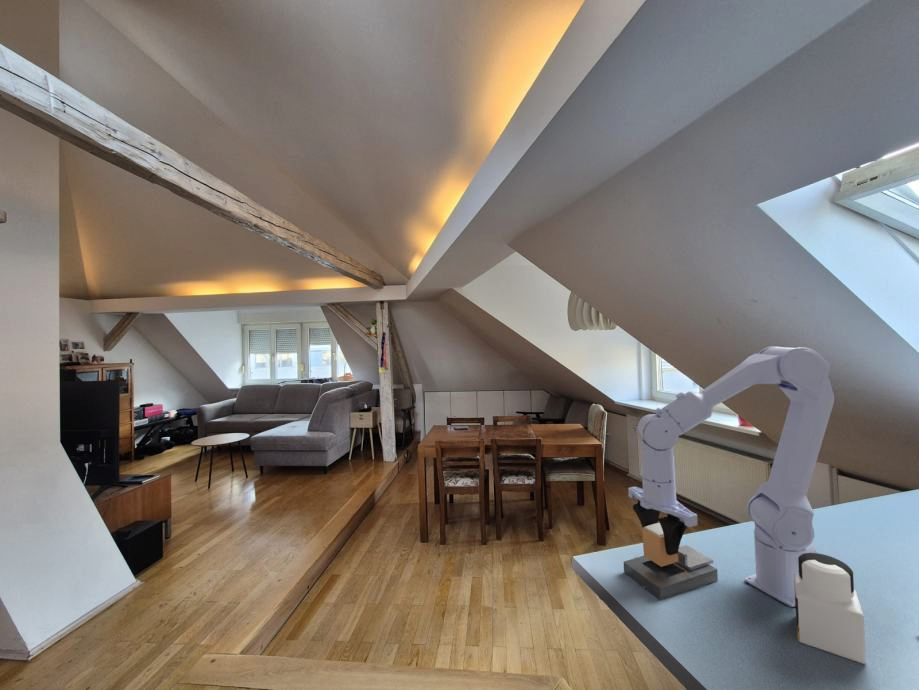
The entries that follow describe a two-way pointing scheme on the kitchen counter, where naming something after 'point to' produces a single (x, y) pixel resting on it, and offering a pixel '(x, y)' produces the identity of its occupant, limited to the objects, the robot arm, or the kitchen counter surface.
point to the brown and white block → (656, 545)
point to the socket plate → (668, 576)
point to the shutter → (692, 558)
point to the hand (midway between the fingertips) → (661, 547)
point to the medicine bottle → (829, 607)
